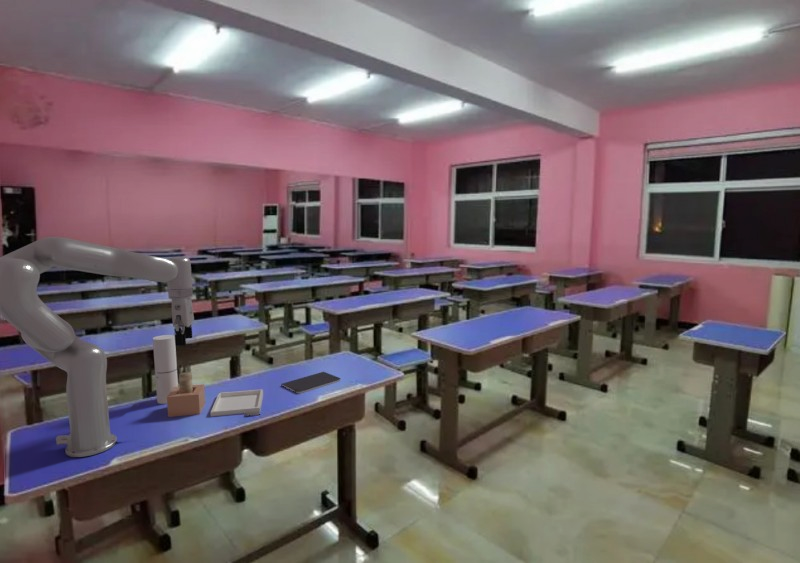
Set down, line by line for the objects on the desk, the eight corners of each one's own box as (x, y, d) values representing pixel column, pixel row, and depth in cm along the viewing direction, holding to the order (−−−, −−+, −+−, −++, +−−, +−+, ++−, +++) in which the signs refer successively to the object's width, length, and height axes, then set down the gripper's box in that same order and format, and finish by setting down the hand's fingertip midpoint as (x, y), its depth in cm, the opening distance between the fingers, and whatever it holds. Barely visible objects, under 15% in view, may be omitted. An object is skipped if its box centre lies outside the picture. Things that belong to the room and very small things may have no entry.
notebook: (323, 374, 196) (281, 387, 180) (323, 371, 195) (281, 383, 180) (341, 381, 187) (298, 395, 172) (341, 378, 187) (298, 391, 171)
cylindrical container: (169, 407, 159) (165, 340, 156) (152, 405, 161) (148, 339, 158) (183, 399, 166) (179, 335, 163) (166, 398, 168) (162, 334, 164)
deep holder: (168, 419, 149) (166, 397, 148) (175, 407, 159) (174, 386, 158) (199, 416, 151) (198, 394, 150) (205, 405, 161) (204, 384, 160)
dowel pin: (179, 412, 152) (177, 376, 151) (182, 407, 156) (180, 372, 155) (192, 411, 153) (190, 375, 152) (194, 406, 157) (192, 371, 156)
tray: (210, 419, 149) (210, 412, 149) (219, 399, 167) (219, 392, 166) (259, 414, 153) (259, 407, 153) (263, 395, 170) (262, 389, 170)
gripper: (186, 296, 142) (190, 347, 145) (197, 289, 159) (200, 334, 161) (161, 297, 140) (165, 349, 143) (175, 289, 157) (178, 336, 159)
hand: (184, 341), depth 152 cm, fingers open, 9 cm apart
